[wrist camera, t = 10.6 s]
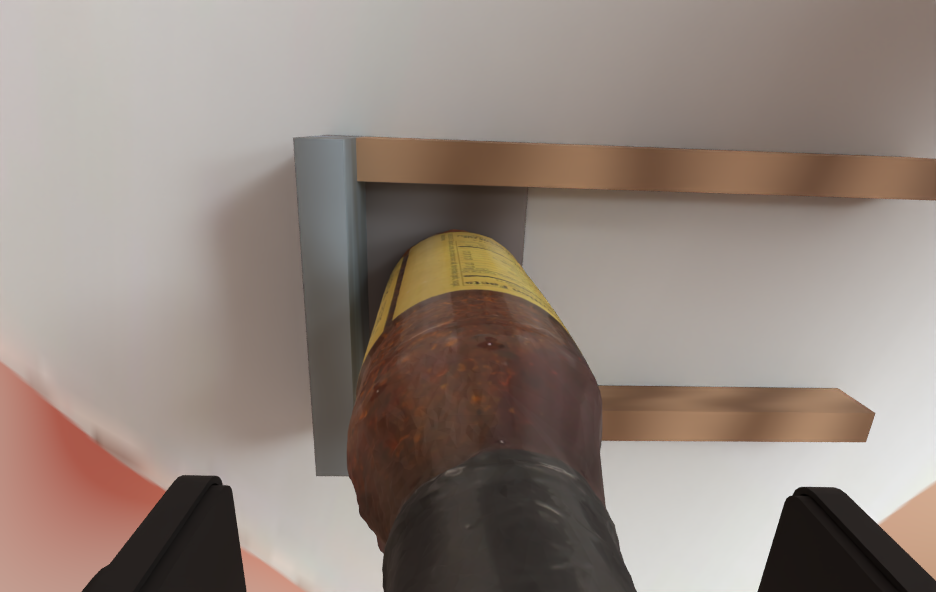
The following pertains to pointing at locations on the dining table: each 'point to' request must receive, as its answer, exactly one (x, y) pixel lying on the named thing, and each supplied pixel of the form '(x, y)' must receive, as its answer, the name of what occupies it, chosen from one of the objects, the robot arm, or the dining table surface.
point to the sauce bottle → (479, 432)
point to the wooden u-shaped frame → (503, 219)
